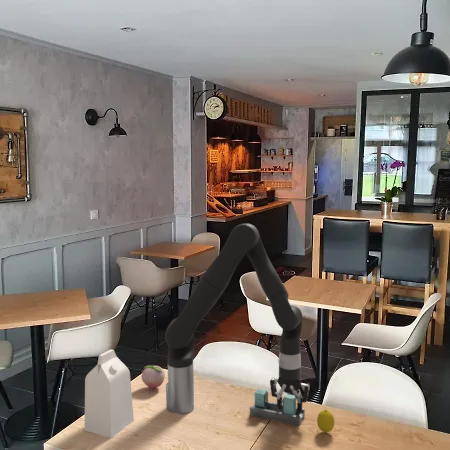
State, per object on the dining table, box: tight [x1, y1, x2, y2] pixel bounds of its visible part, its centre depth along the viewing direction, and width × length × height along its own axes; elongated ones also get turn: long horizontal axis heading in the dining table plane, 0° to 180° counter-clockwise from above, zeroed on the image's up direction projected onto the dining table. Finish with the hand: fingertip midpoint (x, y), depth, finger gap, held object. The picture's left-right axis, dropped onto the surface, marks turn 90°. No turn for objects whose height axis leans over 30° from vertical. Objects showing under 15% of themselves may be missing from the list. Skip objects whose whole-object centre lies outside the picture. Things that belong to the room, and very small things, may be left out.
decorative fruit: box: [141, 365, 166, 389], centre depth 193 cm, size 9×8×10 cm
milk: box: [84, 349, 135, 439], centre depth 165 cm, size 12×12×26 cm
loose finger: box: [282, 393, 297, 415], centre depth 169 cm, size 4×4×7 cm
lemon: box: [316, 409, 335, 434], centre depth 160 cm, size 6×6×8 cm
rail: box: [249, 388, 306, 427], centre depth 171 cm, size 18×7×8 cm, turn 66°
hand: (289, 410), depth 169 cm, fingers open, 6 cm apart
